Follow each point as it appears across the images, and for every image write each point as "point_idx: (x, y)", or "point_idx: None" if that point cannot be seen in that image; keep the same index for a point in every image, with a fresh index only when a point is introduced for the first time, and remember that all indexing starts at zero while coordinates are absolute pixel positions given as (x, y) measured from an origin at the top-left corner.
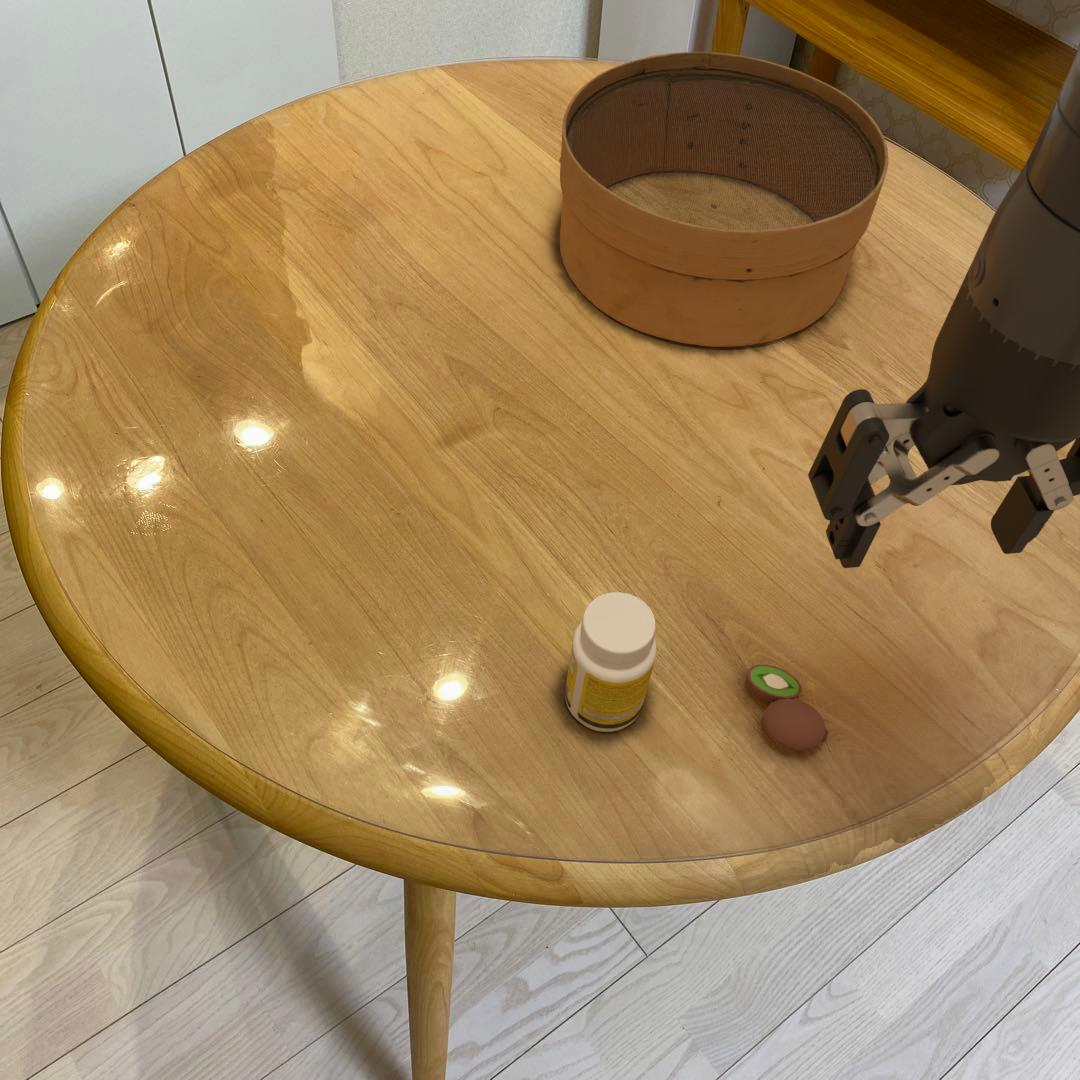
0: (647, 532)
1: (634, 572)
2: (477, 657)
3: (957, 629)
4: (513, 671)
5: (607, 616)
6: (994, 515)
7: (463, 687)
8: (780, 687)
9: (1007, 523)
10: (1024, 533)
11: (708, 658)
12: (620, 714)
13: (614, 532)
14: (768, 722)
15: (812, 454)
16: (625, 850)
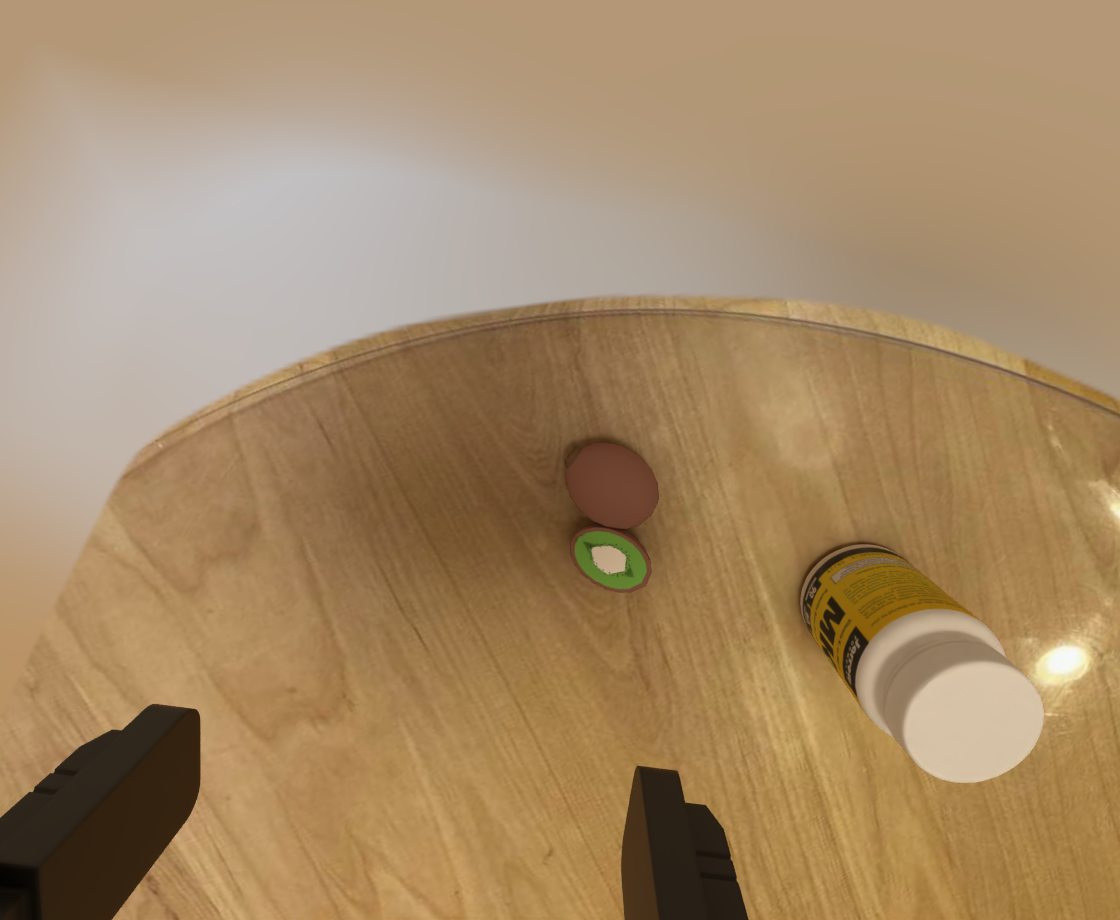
0: None
1: (724, 775)
2: None
3: (273, 576)
4: None
5: (991, 739)
6: (177, 829)
7: (1045, 660)
8: (607, 548)
9: (154, 806)
10: (118, 772)
11: (675, 620)
12: (887, 563)
13: None
14: (656, 496)
15: (370, 899)
16: (926, 366)
